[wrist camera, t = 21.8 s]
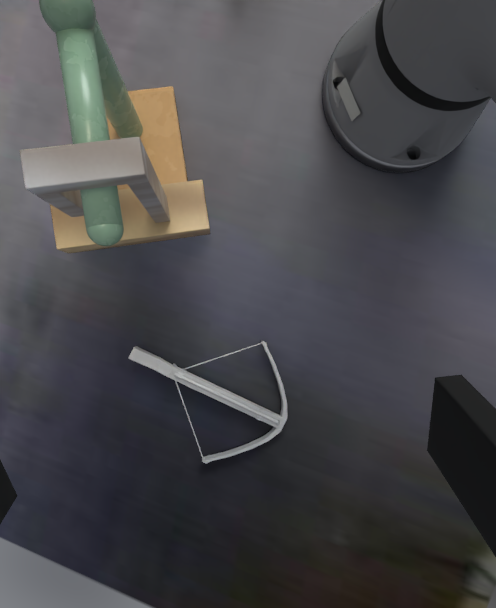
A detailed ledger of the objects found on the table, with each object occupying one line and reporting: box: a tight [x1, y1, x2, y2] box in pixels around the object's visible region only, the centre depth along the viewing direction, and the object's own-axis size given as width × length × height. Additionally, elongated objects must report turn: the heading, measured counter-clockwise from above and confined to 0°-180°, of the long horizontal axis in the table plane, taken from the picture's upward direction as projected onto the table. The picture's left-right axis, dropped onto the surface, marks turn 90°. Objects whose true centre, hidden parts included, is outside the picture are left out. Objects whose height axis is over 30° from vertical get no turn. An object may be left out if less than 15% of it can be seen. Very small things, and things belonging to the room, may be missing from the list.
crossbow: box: [129, 340, 288, 464], centre depth 36 cm, size 16×13×2 cm
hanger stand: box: [39, 0, 188, 246], centre depth 28 cm, size 16×9×17 cm, turn 9°
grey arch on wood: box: [20, 137, 210, 253], centre depth 26 cm, size 4×12×13 cm, turn 99°
